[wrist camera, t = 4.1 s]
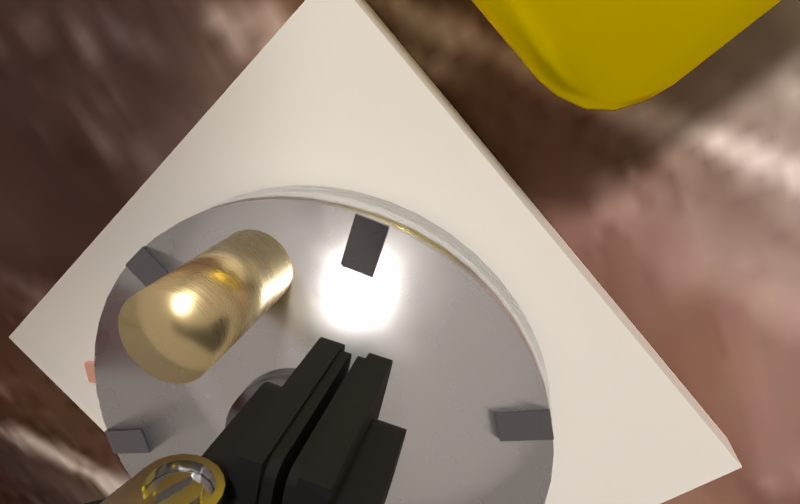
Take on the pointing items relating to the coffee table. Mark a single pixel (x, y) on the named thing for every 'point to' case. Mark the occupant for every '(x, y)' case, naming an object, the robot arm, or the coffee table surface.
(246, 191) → the base plate
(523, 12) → the element tile
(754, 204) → the coffee table surface
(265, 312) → the rotary dial
